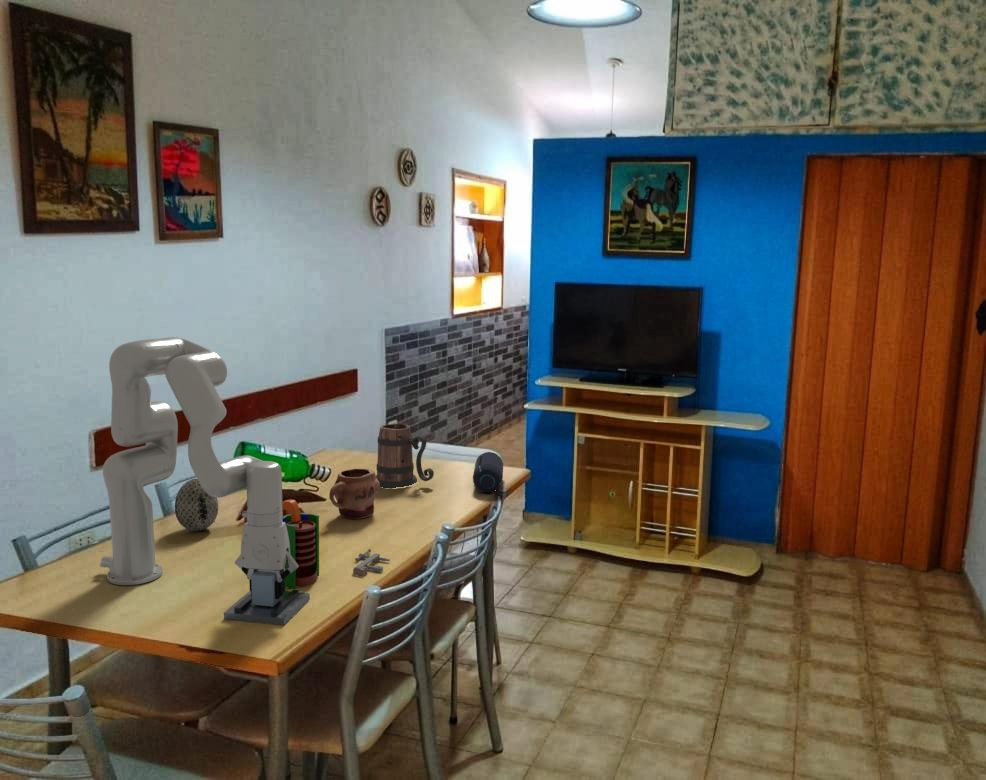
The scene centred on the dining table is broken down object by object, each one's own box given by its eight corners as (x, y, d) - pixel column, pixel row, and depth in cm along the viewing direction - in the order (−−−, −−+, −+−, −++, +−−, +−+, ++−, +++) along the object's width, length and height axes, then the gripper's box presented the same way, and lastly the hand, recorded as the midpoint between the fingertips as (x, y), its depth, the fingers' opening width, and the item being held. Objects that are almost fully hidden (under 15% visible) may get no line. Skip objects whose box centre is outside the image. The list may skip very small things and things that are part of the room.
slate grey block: (252, 604, 189) (251, 574, 188) (265, 593, 196) (264, 563, 195) (273, 606, 188) (272, 576, 187) (285, 594, 195) (284, 565, 194)
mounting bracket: (224, 619, 186) (223, 608, 186) (253, 594, 200) (252, 584, 199) (284, 625, 184) (283, 614, 183) (309, 599, 197) (309, 589, 197)
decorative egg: (184, 539, 236) (182, 487, 233) (169, 528, 245) (167, 478, 242) (225, 531, 243) (223, 480, 241) (209, 521, 252) (207, 471, 250)
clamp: (374, 571, 210) (338, 565, 214) (374, 579, 211) (338, 573, 214) (401, 551, 224) (367, 546, 228) (401, 559, 225) (367, 554, 228)
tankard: (361, 484, 293) (360, 427, 290) (388, 473, 308) (388, 419, 305) (419, 494, 283) (419, 435, 280) (444, 482, 298) (445, 426, 295)
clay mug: (349, 529, 247) (349, 482, 245) (316, 522, 252) (315, 476, 250) (389, 511, 264) (389, 467, 262) (357, 505, 270) (357, 462, 268)
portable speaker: (475, 476, 307) (475, 449, 305) (503, 476, 307) (503, 449, 305) (472, 495, 282) (472, 466, 281) (502, 496, 282) (502, 467, 281)
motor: (307, 590, 202) (305, 509, 199) (272, 587, 204) (269, 506, 201) (323, 574, 212) (322, 497, 209) (290, 571, 214) (288, 494, 211)
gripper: (221, 520, 186) (224, 598, 189) (294, 525, 183) (296, 605, 186) (237, 509, 193) (239, 586, 196) (308, 515, 190) (309, 592, 193)
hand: (267, 594), depth 191 cm, fingers closed on slate grey block, 5 cm apart
